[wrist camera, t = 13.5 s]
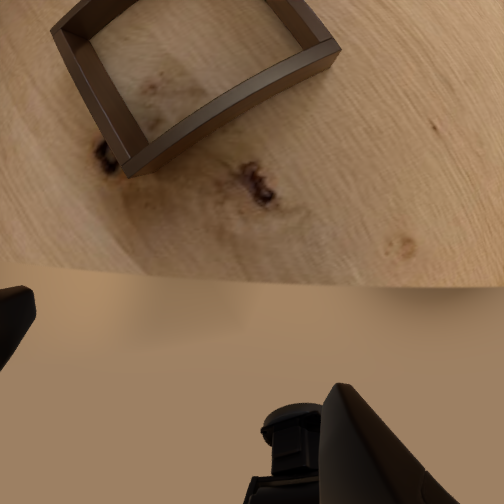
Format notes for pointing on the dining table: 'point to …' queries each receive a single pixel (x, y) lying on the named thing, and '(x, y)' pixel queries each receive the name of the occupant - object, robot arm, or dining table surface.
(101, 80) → the tray
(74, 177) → the dining table surface
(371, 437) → the robot arm
